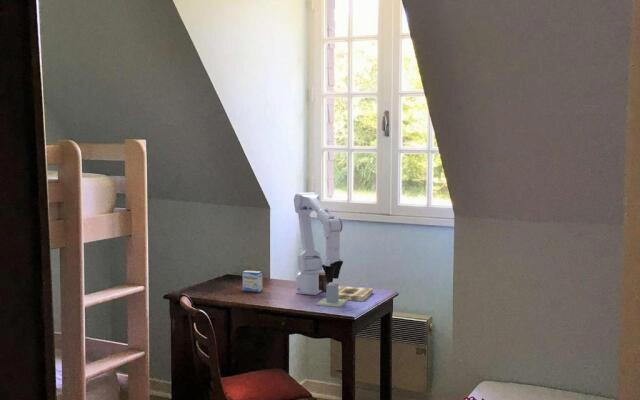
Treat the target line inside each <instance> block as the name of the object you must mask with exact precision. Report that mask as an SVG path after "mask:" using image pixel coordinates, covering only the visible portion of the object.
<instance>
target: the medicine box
mask: <svg viewBox="0 0 640 400" xmlns="http://www.w3.org/2000/svg"><path fill="white" fill-rule="evenodd" d="M242 291H243V292H251V293H253V292H254V293H259V292H261V291H263V271H258V270H244V271H242Z"/></svg>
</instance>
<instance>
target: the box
mask: <svg viewBox="0 0 640 400" xmlns="http://www.w3.org/2000/svg"><path fill="white" fill-rule="evenodd" d="M329 283H330V282H327V279H326V275H325V272H324V271H323V272H322V271H320V273H319V290H322V291H321V292H325V291H326V285H328V284H329Z"/></svg>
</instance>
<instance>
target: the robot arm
mask: <svg viewBox="0 0 640 400" xmlns="http://www.w3.org/2000/svg"><path fill="white" fill-rule="evenodd" d="M293 205H294V211H295V213H296V214H297V216H298V222H299V223H298V225H299V229H300V237H301V238H300V239H301V245H302V251H301V253H300V254H299V255H298V256H297V260H298V261H297V268H298V271H299V272H298V273H297V274H296V279H295V280H296V283H295V284H296V285H295V286H296V291H295V294H299V295H311V296H312V295H313V296H317V295H318V294H319V293H321V292H323V291H322V290H319V273H320V272H322V270H323V272H324V273H325V275H326V279H327V282H329V283H333V281H334V279H339V276H340V272H341V269H342V266H343V264H344V260H343V258H342V257H341V254H340V251H341V245H340V244H341V243H340V241H341V238H340V237H341V234H340V233H341V232H342V231H343V226H344V225H343V221H342V219H341V218H340V217H335V216H334V215H333V213H332V212H331V211H330V210H329V208H327V207H324V206H323V204H322V203H321V201H320V195H319V194H318V192H317V191H313V192H296V193H295V194H294V197H293ZM313 212H315V213H316V218H317V219H318V220H319V221H320V224H322V226H323V227H322V228H323V231H324V237H325V258H324V259H325V260H324V261H323V258H322V256H321V253H320V252H318V251H317V250H316V249H315V243H314V235H313V229H312V223H311V222H312V221H311V216H310V215H311V213H313Z"/></svg>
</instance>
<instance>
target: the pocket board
mask: <svg viewBox="0 0 640 400" xmlns="http://www.w3.org/2000/svg"><path fill="white" fill-rule="evenodd" d="M373 291H374V290H373V288H370V287H369V288H368V287H355V286H343V285H342V286H341V285H339V299H348V301H352V302H353V301H354V302H364V301H365V300H367V298H369V297H370V296H372V294H374V293H373Z"/></svg>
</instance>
